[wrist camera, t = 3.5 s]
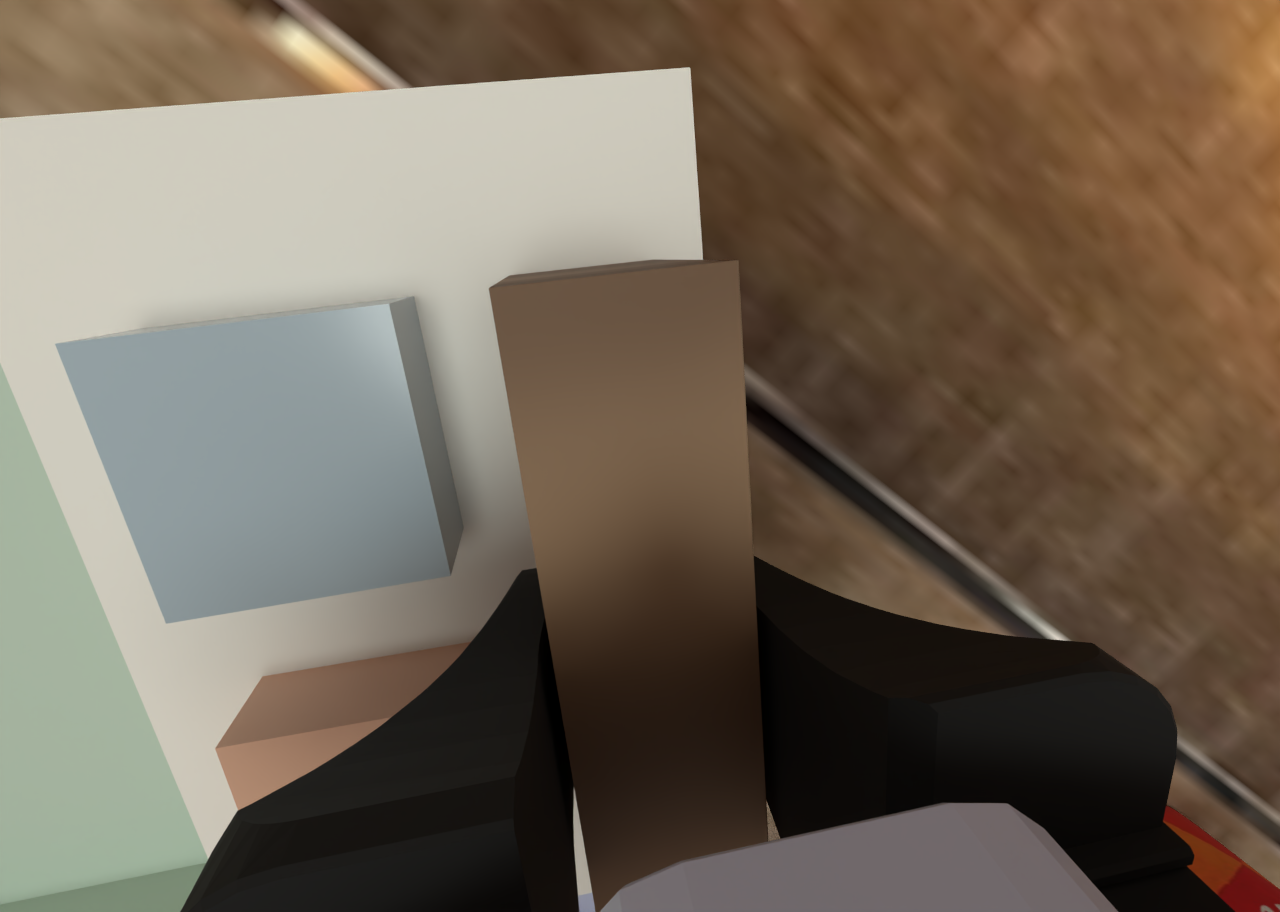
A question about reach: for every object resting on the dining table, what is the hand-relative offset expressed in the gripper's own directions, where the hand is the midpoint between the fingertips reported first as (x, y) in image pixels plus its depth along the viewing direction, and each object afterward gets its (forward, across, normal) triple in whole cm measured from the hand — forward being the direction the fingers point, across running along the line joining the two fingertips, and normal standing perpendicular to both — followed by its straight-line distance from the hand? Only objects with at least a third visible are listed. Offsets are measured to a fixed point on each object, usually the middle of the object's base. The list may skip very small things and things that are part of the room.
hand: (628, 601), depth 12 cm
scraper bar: (+1, 0, 0) cm, 1 cm away
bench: (+5, +4, 0) cm, 6 cm away
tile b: (+2, +5, -4) cm, 6 cm away
